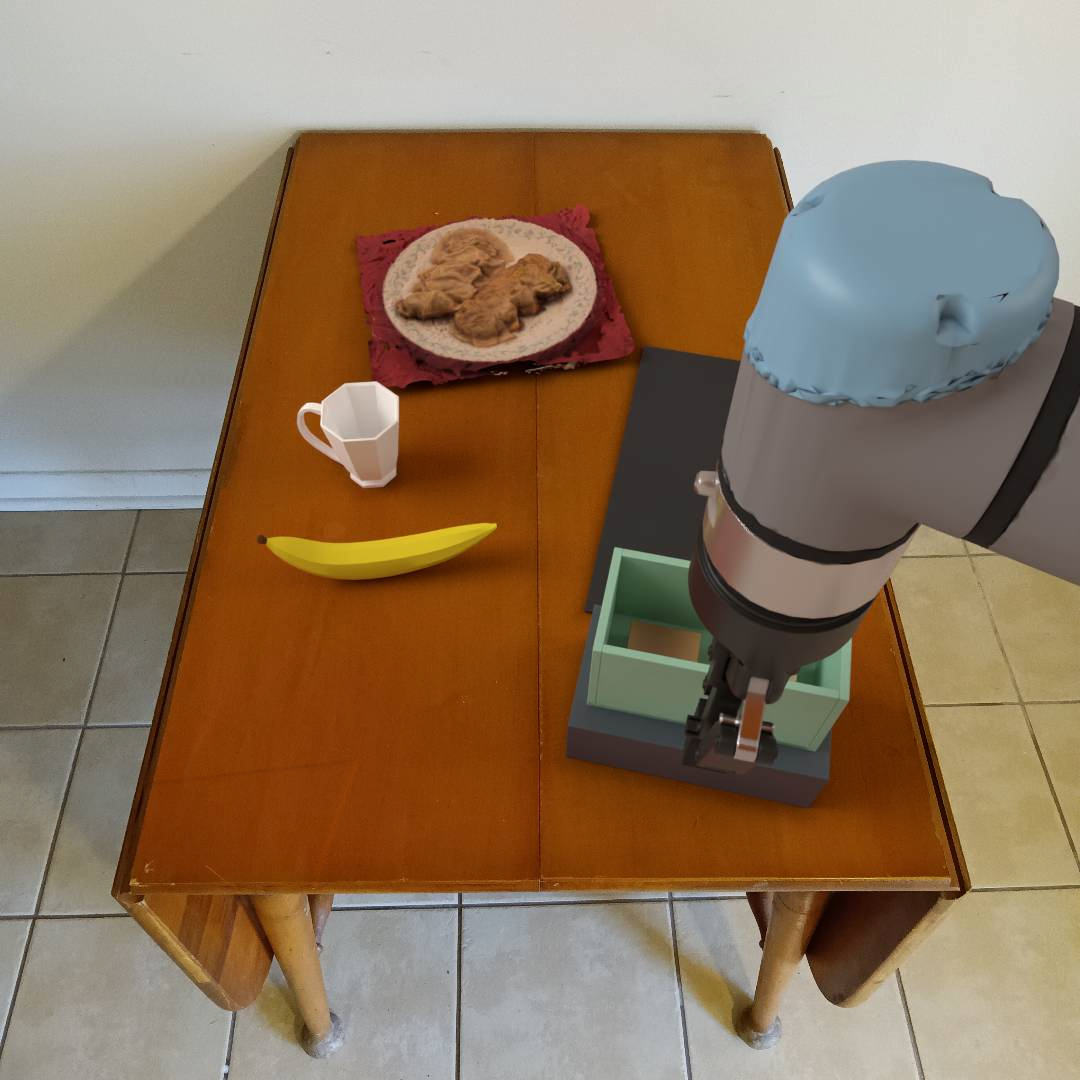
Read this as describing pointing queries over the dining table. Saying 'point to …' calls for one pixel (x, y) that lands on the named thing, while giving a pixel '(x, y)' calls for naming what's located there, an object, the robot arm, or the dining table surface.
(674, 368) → the mat
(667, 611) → the open box
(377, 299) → the plate with food
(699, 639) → the brown rectangular tile
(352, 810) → the dining table surface
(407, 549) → the banana
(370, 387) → the cup
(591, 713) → the block
